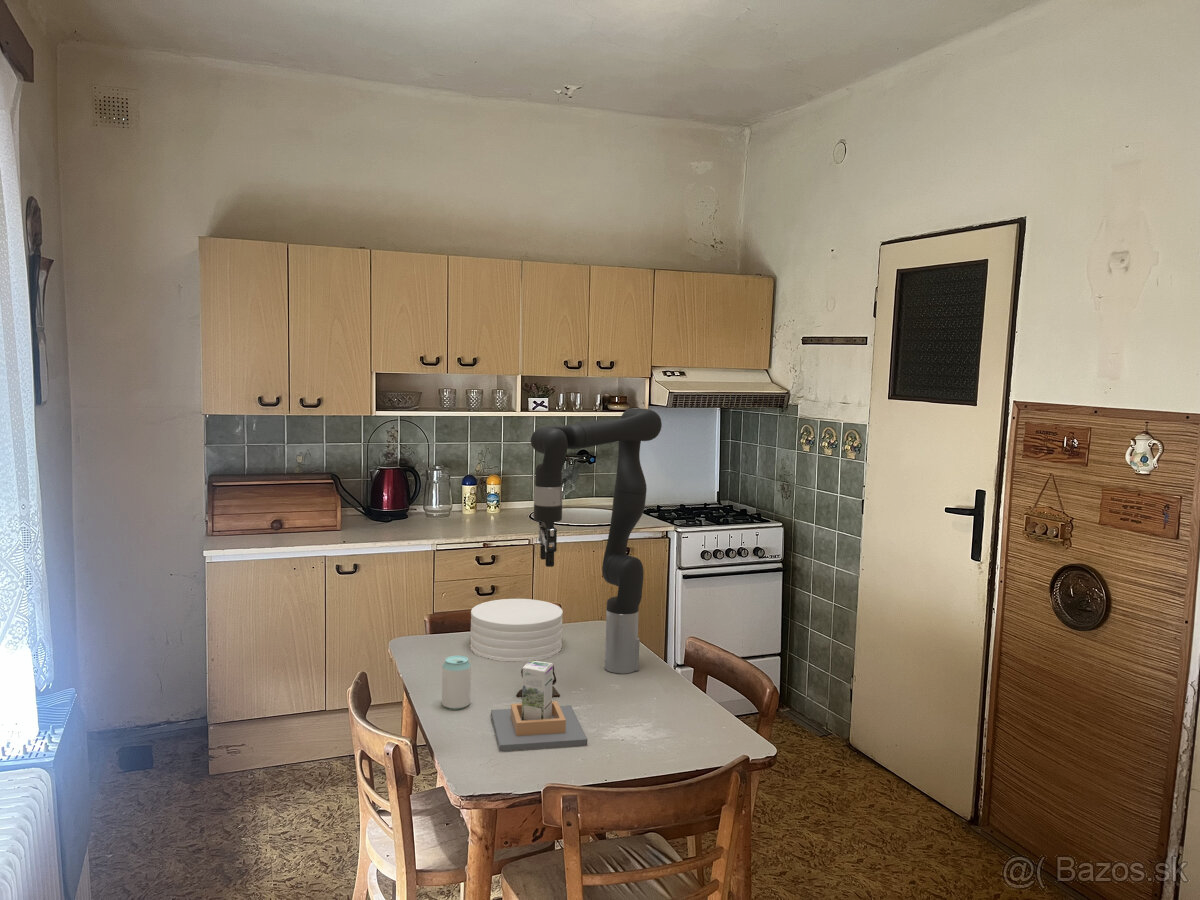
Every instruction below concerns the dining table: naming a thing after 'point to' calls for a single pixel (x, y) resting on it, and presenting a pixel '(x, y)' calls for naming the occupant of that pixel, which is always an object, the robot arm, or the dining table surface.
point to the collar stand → (537, 729)
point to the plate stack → (516, 629)
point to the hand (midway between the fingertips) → (546, 562)
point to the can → (456, 682)
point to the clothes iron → (554, 691)
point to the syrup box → (537, 690)
